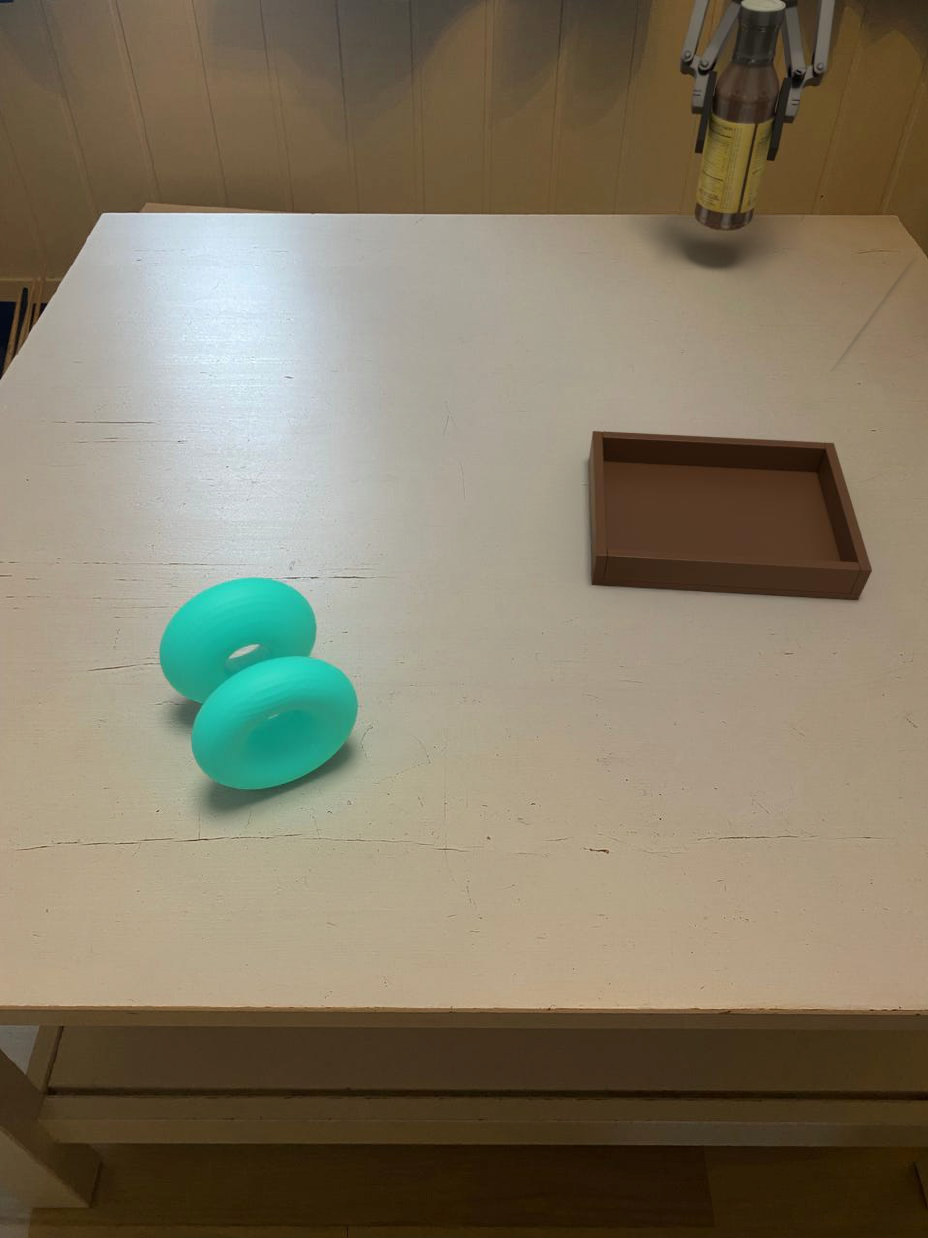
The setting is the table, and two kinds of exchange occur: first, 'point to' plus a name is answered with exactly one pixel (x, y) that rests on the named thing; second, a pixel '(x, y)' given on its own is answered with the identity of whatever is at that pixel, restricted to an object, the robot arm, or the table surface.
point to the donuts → (256, 684)
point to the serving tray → (723, 516)
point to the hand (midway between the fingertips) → (735, 150)
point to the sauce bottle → (741, 121)
